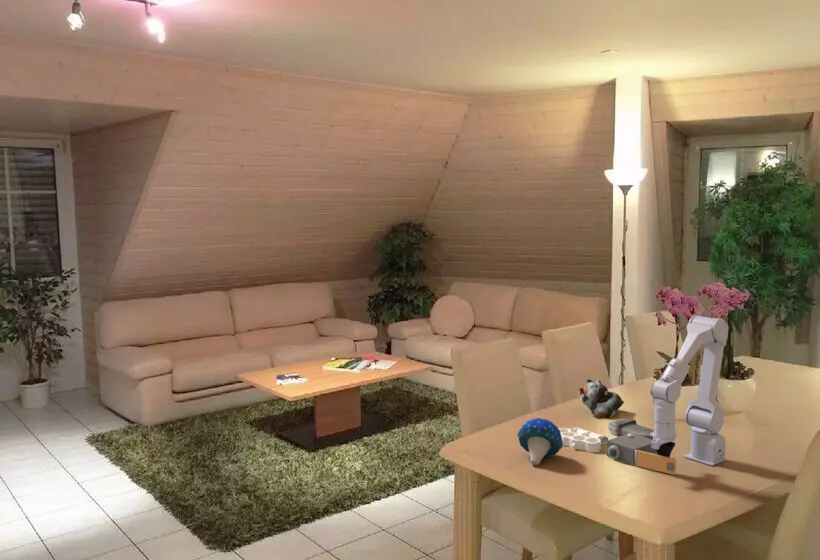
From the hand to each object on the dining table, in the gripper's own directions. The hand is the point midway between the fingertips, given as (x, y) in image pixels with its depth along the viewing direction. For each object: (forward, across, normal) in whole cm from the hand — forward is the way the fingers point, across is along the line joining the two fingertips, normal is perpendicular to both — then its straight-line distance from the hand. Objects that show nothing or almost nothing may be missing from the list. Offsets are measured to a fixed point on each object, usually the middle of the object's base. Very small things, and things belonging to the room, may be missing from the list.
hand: (663, 465), depth 203 cm
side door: (+1, +2, -2) cm, 3 cm away
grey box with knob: (+2, -6, -12) cm, 13 cm away
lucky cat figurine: (+2, -42, -39) cm, 57 cm away
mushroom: (+2, +14, -34) cm, 36 cm away
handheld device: (+2, -24, -17) cm, 29 cm away
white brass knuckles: (+2, -7, -30) cm, 31 cm away
